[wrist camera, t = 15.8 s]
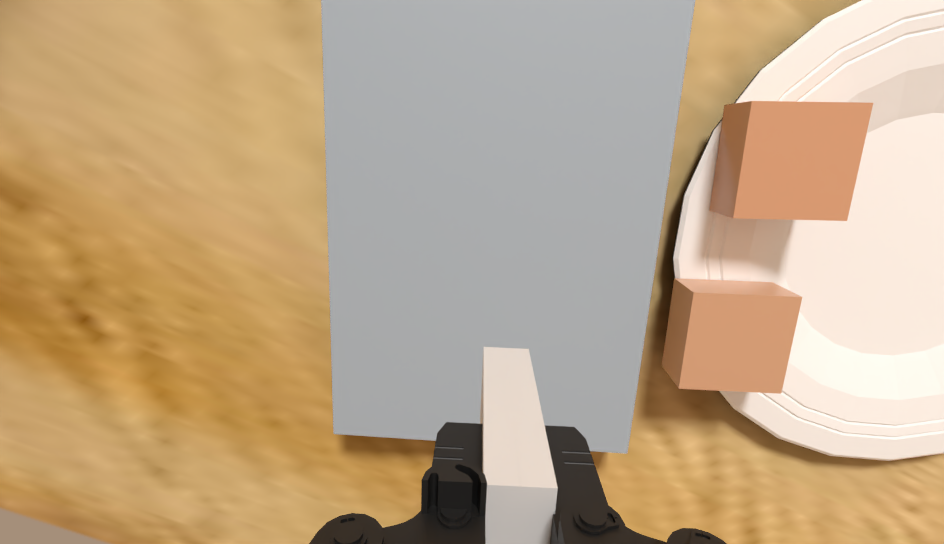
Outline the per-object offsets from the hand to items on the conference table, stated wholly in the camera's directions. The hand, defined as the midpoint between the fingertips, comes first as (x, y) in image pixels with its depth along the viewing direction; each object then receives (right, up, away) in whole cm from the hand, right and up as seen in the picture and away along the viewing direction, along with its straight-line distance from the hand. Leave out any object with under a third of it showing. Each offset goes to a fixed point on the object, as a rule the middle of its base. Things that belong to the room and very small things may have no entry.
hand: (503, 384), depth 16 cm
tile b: (+12, +1, +9) cm, 15 cm away
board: (0, +7, +10) cm, 12 cm away
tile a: (+13, +9, +7) cm, 18 cm away
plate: (+22, +6, +10) cm, 25 cm away
